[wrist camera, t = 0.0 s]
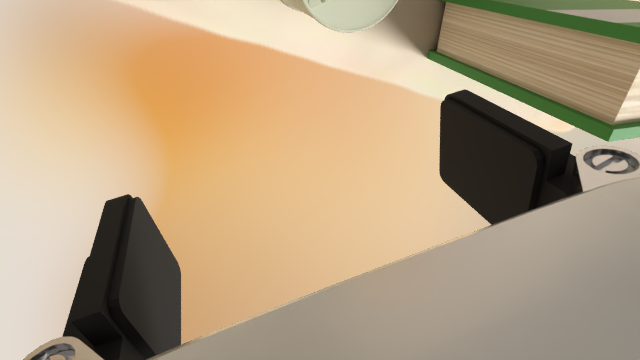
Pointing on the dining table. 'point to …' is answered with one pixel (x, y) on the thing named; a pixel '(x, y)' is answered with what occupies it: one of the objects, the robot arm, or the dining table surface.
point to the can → (344, 12)
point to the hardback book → (552, 57)
